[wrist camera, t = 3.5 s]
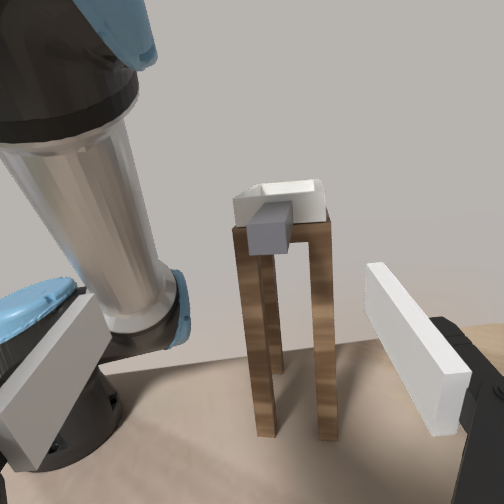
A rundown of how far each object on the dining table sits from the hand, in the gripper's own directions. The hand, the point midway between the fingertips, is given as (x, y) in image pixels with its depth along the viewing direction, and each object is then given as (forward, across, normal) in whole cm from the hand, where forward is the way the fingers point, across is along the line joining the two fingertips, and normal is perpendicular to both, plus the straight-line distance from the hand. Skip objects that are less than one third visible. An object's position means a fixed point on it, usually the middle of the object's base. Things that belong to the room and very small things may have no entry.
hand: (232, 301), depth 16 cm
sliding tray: (+23, +4, -5) cm, 23 cm away
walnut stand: (+23, +5, -35) cm, 42 cm away
